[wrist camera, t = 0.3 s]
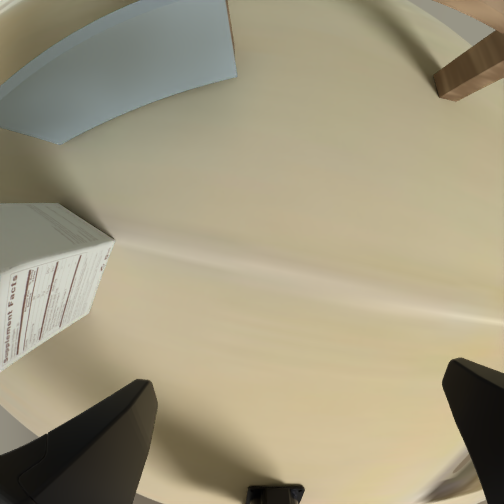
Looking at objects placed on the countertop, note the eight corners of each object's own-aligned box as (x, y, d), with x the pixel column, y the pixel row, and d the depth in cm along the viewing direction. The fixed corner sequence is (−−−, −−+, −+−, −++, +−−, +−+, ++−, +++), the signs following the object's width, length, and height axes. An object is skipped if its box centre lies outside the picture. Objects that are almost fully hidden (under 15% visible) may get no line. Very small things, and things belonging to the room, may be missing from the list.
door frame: (214, 87, 19) (167, -42, 6) (213, 46, 18) (176, -78, 5) (456, 101, 18) (555, 54, 5) (446, 65, 18) (530, 6, 4)
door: (230, 53, 18) (214, -35, 8) (237, 76, 18) (223, -11, 8) (58, 121, 19) (-19, 91, 9) (60, 145, 19) (-23, 121, 9)
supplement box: (36, 272, 21) (-64, 306, 9) (59, 200, 20) (-57, 200, 8) (91, 315, 22) (-8, 382, 9) (119, 241, 21) (-3, 270, 8)
